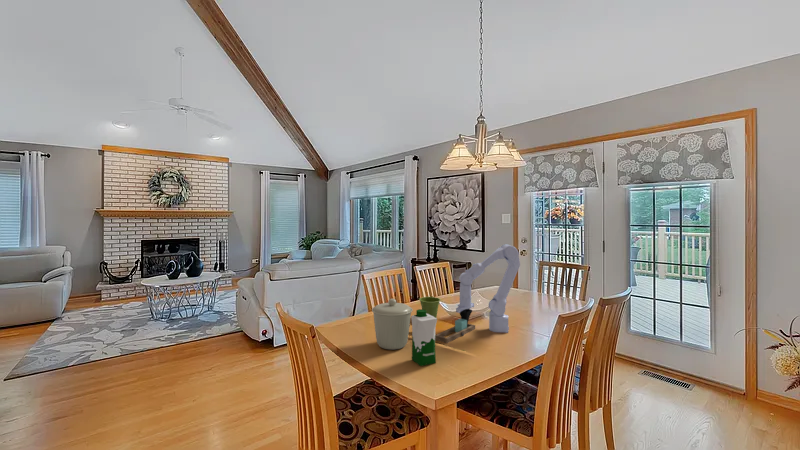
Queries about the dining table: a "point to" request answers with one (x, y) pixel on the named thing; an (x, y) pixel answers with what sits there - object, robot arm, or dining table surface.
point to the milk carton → (423, 338)
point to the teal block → (460, 324)
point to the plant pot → (430, 305)
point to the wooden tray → (461, 333)
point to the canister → (392, 324)
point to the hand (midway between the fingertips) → (465, 324)
